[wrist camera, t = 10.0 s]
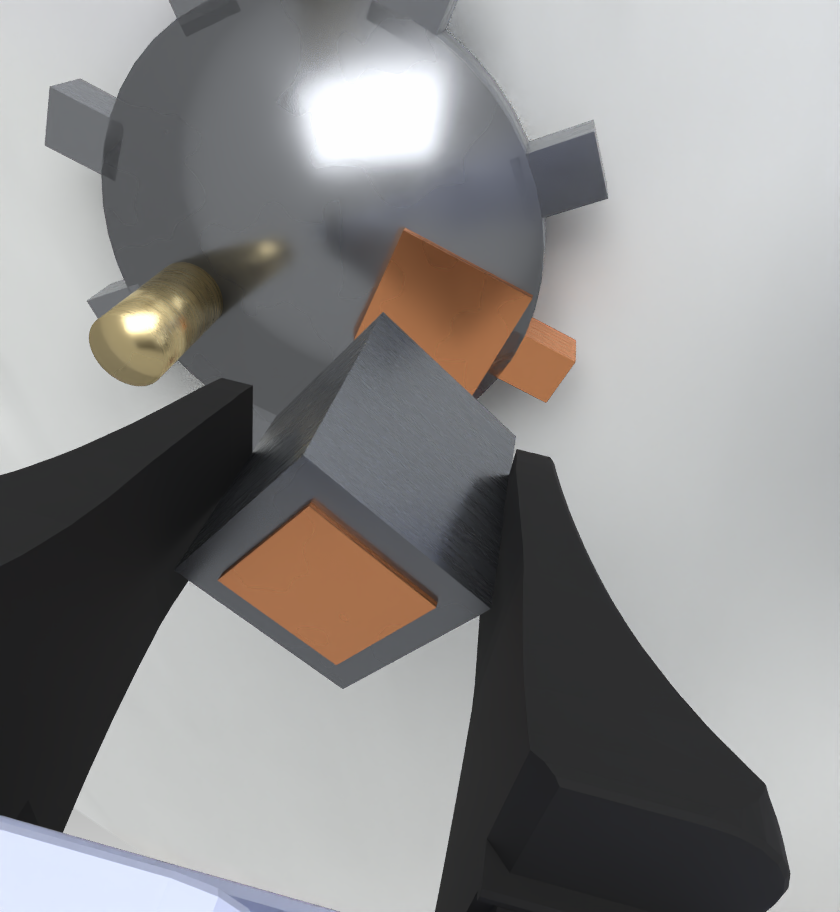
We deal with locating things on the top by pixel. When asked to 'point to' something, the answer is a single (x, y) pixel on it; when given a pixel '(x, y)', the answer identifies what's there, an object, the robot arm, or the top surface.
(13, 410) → the top surface
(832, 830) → the top surface
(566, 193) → the sprocket
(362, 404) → the cube with orange inset
